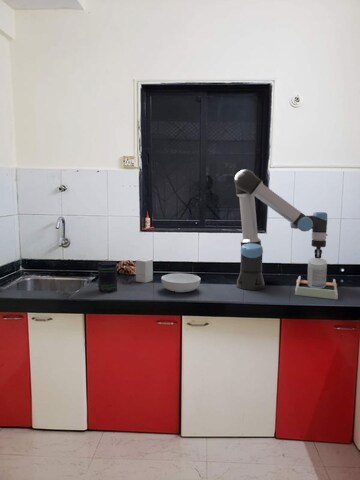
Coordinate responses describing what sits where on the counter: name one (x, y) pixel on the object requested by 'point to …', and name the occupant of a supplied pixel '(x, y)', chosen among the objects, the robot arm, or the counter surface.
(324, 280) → the supplement tub
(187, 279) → the serving bowl
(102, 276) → the storage jar
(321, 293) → the channel
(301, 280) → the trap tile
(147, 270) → the supplement box
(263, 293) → the counter surface
